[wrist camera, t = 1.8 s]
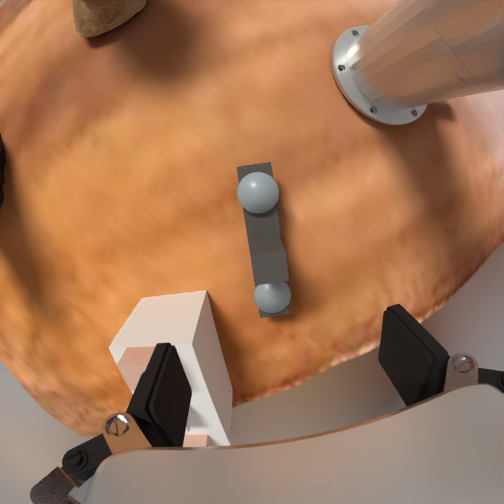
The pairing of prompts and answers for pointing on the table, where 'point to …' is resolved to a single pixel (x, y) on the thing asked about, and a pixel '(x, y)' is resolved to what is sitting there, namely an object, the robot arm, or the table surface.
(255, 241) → the bar with two balls
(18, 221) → the table surface
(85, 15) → the stone cup
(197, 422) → the white toy brick
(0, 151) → the owl
